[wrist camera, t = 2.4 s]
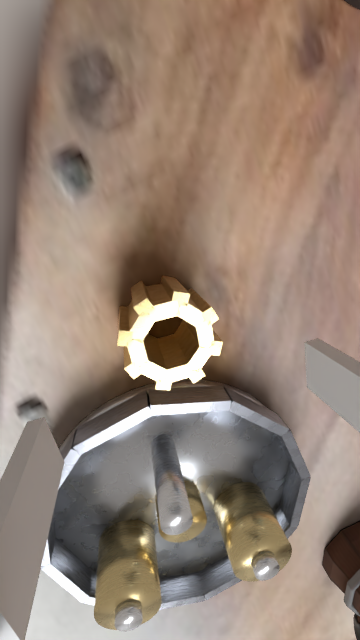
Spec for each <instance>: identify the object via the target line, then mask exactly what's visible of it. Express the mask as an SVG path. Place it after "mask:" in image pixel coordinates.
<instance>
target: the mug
mask: <svg viewBox="0 0 360 640" xmlns="http://www.w3.org/2000/svg"><path fill="white" fill-rule="evenodd" d="M322 566H323V567H324V569H325V571H326V573H327V574H328V576H329V578H330V579H331V580H332V581H333V582H334V583H335V584H336V585H337V586H338V587H339V589H340V590H341V591H342V592H343V593H344V594H345V596H344V602H345V604H346V606H347V607H348V608H350V609H351V610H352V611H353V612H354V613H355V615H354V630H355V635H356V638H357V640H360V522H358V523H356V524H354V525H352V526H350V527H348V528H345V529H343V530H341V532H340V533H339V534H338V535H337V536H336V537H335V538H334V539H333V540H332V541H331V543H330V544H329V545H328V546H327V547H326V548H325V553H324V559H323V565H322Z"/></svg>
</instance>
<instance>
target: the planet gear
mask: <svg viewBox="0 0 360 640" xmlns="http://www.w3.org/2000/svg"><path fill="white" fill-rule="evenodd" d="M131 294H132V301H131V303H130V304H129V306H128V307H125V306H120V308H119V316H118V337H117V346H124V369H125V370H126V371H127V372H128V373H129V375H130V376H131V377H132V378H133V379H135V378H136V377H138V376H139V375H141V374H143V375H145V376H147V377H149V378H151V379H153V380H154V384H155V389H157V390H170V389H171V384H172V382H175V381H178V380H182V379H185V378H190V380H191V381H192V382H193V384H194V383H195V382H197V381H198V380H200V379H201V378H203V377H204V376H205V373H204V371H203V369H202V367H203V365H204V364H205V362H206V361H207V360H208V358H209V357H210V355H217V356H220V352H221V348H222V344H223V341H222V340H221V339H220V338H219V337H218V335H217V334H216V333H215V332H214V331H213V329H212V326H211V324H213V323H214V322H216V321H217V320H219V318H218V316H217V315H216V313H215V312H214V310H213V309H212V307H211V306H210V305H209V304H208V303H207V302H206V301H205V300H203V299H202V298H201V297H200V296H199V295H198V294H197V293H196V292H195V291H194V290H193V289H192V288H191V289H190V290H188V291H187V290H186V289H185V288H184V287H183V286H182V285H181V284H180V283H179V282H178V280H177V279H176V278H175V277H169V276H163V275H162V279H161V283H160V284H155V285H151V286H147V287H146V286H145V285H144V283H143V282H142V281H140V282H138V283H137V284H136V285H134V286H133V287H131ZM175 316H178V317H180V318H182V319H183V321H182V323H181V324H180V326H179V327H178V329H177V330H176V332H175V333H174V334H173V335H169V336H165V337H161V338H155V337H154V336H152V335H150V334H148V332H149V330H150V328H151V327H152V325H153V324H154V322H156V321H160V320H164V319H167V318H171V317H175Z"/></svg>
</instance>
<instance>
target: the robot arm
mask: <svg viewBox="0 0 360 640" xmlns="http://www.w3.org/2000/svg"><path fill="white" fill-rule="evenodd" d="M344 1H346V2H347V3H349V4H350V5H352V6H354V7H355V8H357V9H360V0H344ZM305 360H306V378H307V388H309V389H310V390H311V391H312V392H313V393H314V394H316V395H317V396H318V397H319V398H320V399H321V400H322V401H324V402H325V403H326V404H327V405H328V406H329V407H331V408H332V409H333V410H334V411H335V412H336V413H338V414H339V415H340V416H341V417H342V418H343V419H345V420H346V421H347V422H348V423H349V424H350V425H351V426H353V427H354V428H355V429H356V430H357V431H358V432H360V362H359V361H357V360H355V359H353V358H352V357H350V356H348V355H346V354H345V353H343V352H341V351H339V350H338V349H336V348H334V347H332V346H331V345H329V344H327V343H325V342H324V341H322V340H320V339H318V338H317V339H314V340H310V341H307V342H305ZM63 467H64V460H63V458H62V455H61V453H60V451H59V449H58V446H57V444H56V442H55V440H54V438H53V435H52V433H51V431H50V429H49V426H48V424H47V422H46V420H45V417H43V418H40V419H36V420H33V421H29V422H27V424H26V426H25V428H24V430H23V432H22V435H21V437H20V439H19V441H18V443H17V445H16V448H15V450H14V452H13V454H12V456H11V458H10V461H9V463H8V465H7V467H6V469H5V472H4V474H3V476H2V478H1V480H0V640H25V636H26V631H27V627H28V622H29V618H30V613H31V609H32V605H33V600H34V596H35V591H36V587H37V582H38V578H39V573H40V569H41V564H42V560H43V556H44V551H45V547H46V542H47V538H48V533H49V529H50V524H51V520H52V516H53V511H54V507H55V502H56V498H57V493H58V489H59V484H60V480H61V476H62V471H63Z"/></svg>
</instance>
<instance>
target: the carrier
mask: <svg viewBox="0 0 360 640" xmlns="http://www.w3.org/2000/svg"><path fill="white" fill-rule="evenodd" d="M59 451H60V453H61V455H62V458H63V460H64V467H63V471H62V476H61V480H60V484H59V489H58V493H57V498H56V502H55V507H54V511H53V516H52V520H51V524H50V529H49V533H48V538H47V542H46V547H45V551H44V556H43V560H42V564H41V570H43V571H44V572H45V573H46V574H48V575H49V576H50V577H51V578H52V579H54V580H55V581H56V582H57V583H59V584H60V585H61V586H62V587H63V588H65V589H66V590H67V591H68V592H70V593H71V594H72V595H73V596H74V597H76V598H77V599H78V600H79V601H80V602H84V603H85V604H91V605H95V607H94V618H95V620H96V622H97V623H98V624H99V625H101V626H102V627H104V628H108V629H113V630H119V631H130V630H133V629H135V628H137V627H138V626H139V625H141V624H143V623H145V622H146V621H148V620H149V619H151V618H152V617H153V616H154V615H155V614H156V613H157V612H158V610H161V609H166V608H171V607H176V606H181V605H186V604H191V603H196V602H201V601H205V599H206V600H208V599H209V598H211V597H213V596H215V595H217V594H218V593H220V592H222V591H224V590H226V589H227V588H229V587H231V586H233V585H235V584H236V583H238V582H240V581H242V580H244V581H259V580H262V581H263V580H268V579H271V578H272V577H274V576H275V575H276V574H277V573H278V572H279V571H280V570H281V569H282V568H283V567H284V566H285V565H286V564H287V562H288V561H289V559H290V557H291V553H292V548H291V545H290V543H289V541H288V538H289V537H290V535H291V534H292V533H293V532H294V531H295V530H296V529H297V526H298V525H299V521H300V517H301V513H302V509H303V505H304V501H305V498H306V494H307V490H308V486H309V482H310V478H311V477H310V474H309V471H308V469H307V467H306V465H305V462H304V460H303V458H302V455H301V453H300V451H299V449H298V446H297V444H296V442H295V439H294V437H293V435H292V433H291V430H290V429H289V428H288V427H287V425H286V424H285V423H284V422H283V420H282V419H281V418H280V417H279V415H278V414H277V413H275V412H273V411H271V410H270V409H268V408H267V407H265V406H264V405H263V404H262V403H261V402H260V401H259V400H257V399H256V398H254V397H253V396H251V395H250V394H248V393H246V392H245V391H242V390H240V389H238V388H235V387H233V386H230V385H227V384H223V383H219V382H215V381H208V380H201V379H200V380H198V381H197V382H195V383H194V384H193V382H192V381H191V380H190V379H182V380H178V381H175V382H172V384H171V389H170V390H157V389H155V384H149V385H145V386H142V387H139V388H136V389H134V390H131V391H128V392H126V393H124V394H122V395H120V396H117V397H115V398H113V399H111V400H110V401H108V402H107V403H105V404H103V405H102V406H100V407H98V408H97V409H96V410H94V411H93V412H92V413H91V414H89V415H88V416H87V417H86V418H84V419H83V420H82V421H81V422H80V423H79V424H78V425H77V426H76V427H75V428H74V429H73V430H72V431H71V432H70V434H69V435H68V436H67V438H66V439H65V440H64V442H63V443H62V444H61V446H60V448H59Z"/></svg>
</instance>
